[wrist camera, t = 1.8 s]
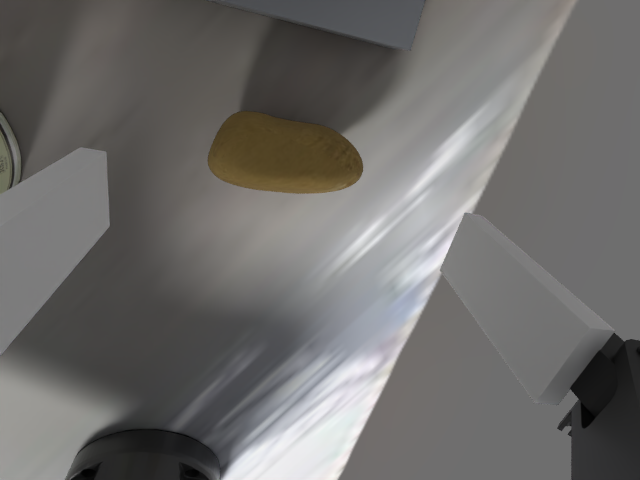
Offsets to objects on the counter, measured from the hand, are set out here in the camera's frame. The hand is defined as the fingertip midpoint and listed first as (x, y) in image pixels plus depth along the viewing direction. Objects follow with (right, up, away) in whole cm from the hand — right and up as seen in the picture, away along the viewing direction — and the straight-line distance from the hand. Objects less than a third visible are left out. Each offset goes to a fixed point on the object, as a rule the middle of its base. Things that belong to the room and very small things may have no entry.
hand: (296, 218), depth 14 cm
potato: (-2, +6, +11) cm, 13 cm away
